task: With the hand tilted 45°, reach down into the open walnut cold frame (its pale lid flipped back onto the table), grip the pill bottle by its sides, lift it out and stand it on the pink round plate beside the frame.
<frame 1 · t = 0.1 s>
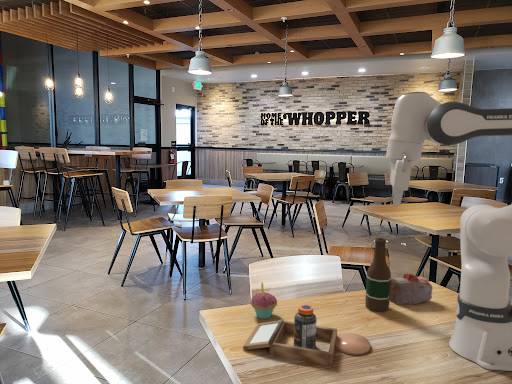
hand: (395, 203, 104), 39 cm above the table, tool pointing down, fingers open, 8 cm apart
beer bottle: (377, 308, 129), on the table
pill bottle: (304, 347, 103), resting in cold frame
food item: (409, 301, 135), on the table
cold frame: (304, 346, 103), on the table
cupcake: (263, 315, 122), on the table
pink round plate: (351, 344, 104), on the table
lid: (263, 339, 107), on the table
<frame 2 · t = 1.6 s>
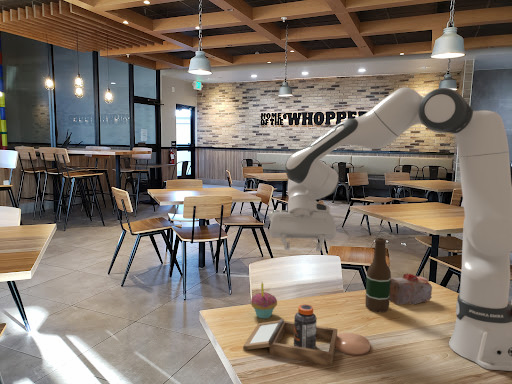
hand: (303, 249, 113), 24 cm above the table, tool tilted 45°, fingers open, 8 cm apart
nothing on the table moved.
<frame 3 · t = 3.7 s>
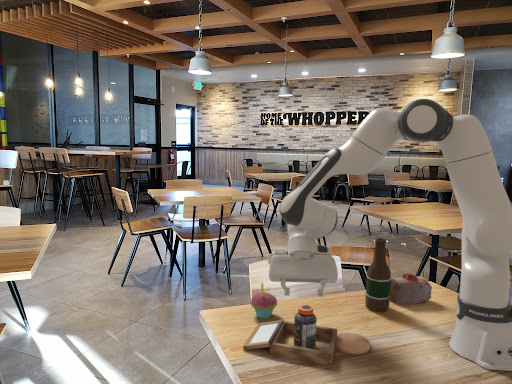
hand: (303, 295, 108), 12 cm above the table, tool tilted 45°, fingers open, 8 cm apart
nothing on the table moved.
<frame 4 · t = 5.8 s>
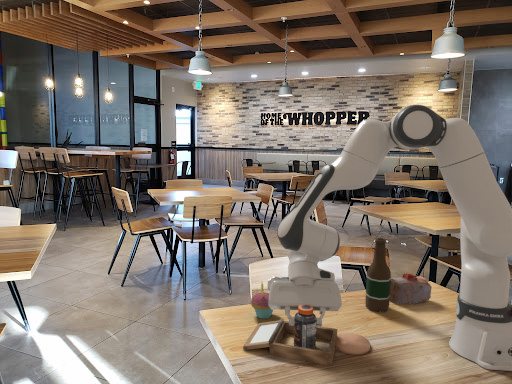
hand: (305, 325, 102), 6 cm above the table, tool tilted 45°, fingers closed on pill bottle, 6 cm apart
pill bottle: (304, 347, 103), resting in cold frame, touching gripper
everything else where it was.
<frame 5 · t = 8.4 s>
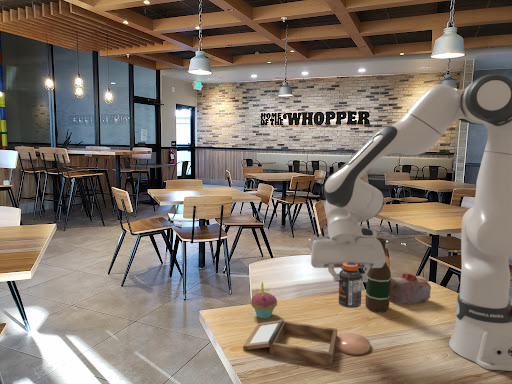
hand: (350, 281, 101), 19 cm above the table, tool tilted 45°, fingers closed on pill bottle, 6 cm apart
pill bottle: (349, 305, 103), point 12 cm above the table, touching gripper
everything else where it was.
when the fingers open (8 cm above the table, at t = 11.3 s): pill bottle stays where it is, resting on pink round plate.
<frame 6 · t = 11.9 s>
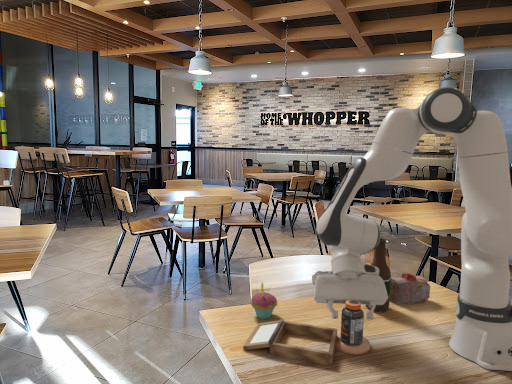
hand: (352, 318, 103), 8 cm above the table, tool tilted 45°, fingers open, 8 cm apart
pill bottle: (351, 342, 104), point 1 cm above the table, touching pink round plate
everything else where it was.
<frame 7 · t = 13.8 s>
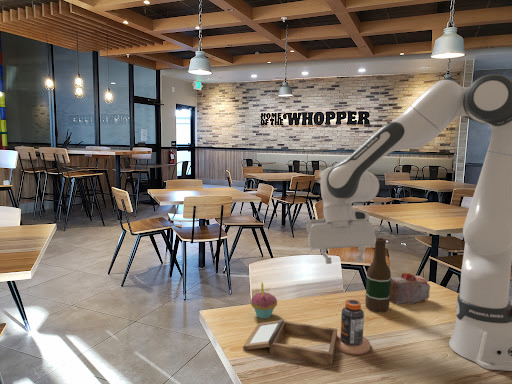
hand: (344, 262, 114), 20 cm above the table, tool tilted 25°, fingers open, 8 cm apart
nothing on the table moved.
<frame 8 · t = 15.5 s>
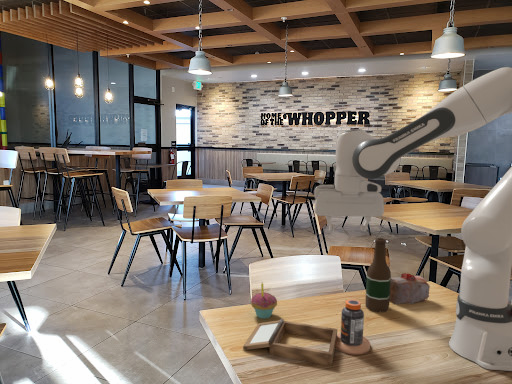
hand: (347, 230, 114), 29 cm above the table, tool pointing down, fingers open, 8 cm apart
nothing on the table moved.
at the end: pill bottle 0.1 cm from the pink round plate (horizontally); pill bottle tilted 0°; the gripper is holding nothing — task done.
